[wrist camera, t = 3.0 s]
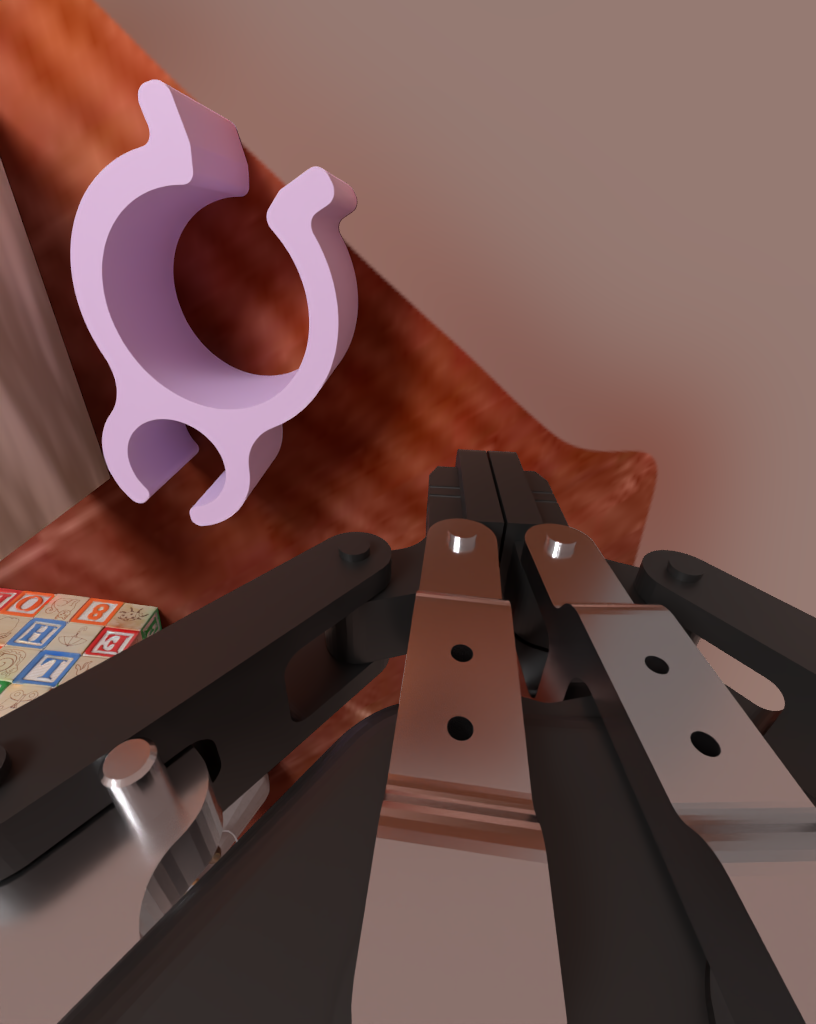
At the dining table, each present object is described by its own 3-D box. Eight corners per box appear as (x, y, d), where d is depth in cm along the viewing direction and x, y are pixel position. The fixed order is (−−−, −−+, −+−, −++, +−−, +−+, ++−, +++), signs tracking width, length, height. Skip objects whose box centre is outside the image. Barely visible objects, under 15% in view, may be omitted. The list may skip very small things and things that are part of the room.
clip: (294, 496, 35) (265, 550, 29) (128, 431, 32) (61, 474, 26) (399, 211, 25) (388, 204, 19) (171, 89, 23) (79, 37, 17)
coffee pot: (256, 793, 58) (207, 952, 45) (168, 764, 55) (89, 924, 42) (327, 707, 48) (289, 879, 35) (224, 666, 45) (142, 836, 32)
